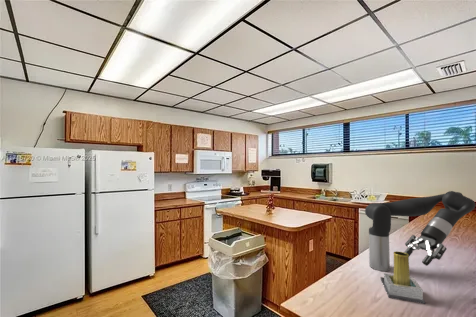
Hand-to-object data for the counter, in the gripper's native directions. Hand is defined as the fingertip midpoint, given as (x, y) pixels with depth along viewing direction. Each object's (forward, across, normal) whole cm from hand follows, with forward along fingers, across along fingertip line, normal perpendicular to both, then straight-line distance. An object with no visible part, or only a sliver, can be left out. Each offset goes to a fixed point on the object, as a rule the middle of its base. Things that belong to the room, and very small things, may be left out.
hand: (414, 259), depth 99 cm
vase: (+12, +1, -5) cm, 13 cm away
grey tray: (+13, +3, -7) cm, 15 cm away
